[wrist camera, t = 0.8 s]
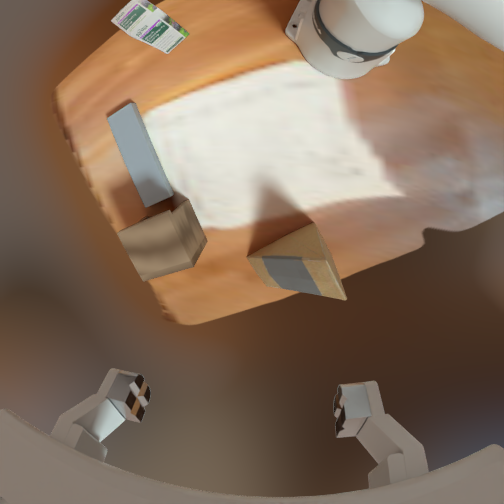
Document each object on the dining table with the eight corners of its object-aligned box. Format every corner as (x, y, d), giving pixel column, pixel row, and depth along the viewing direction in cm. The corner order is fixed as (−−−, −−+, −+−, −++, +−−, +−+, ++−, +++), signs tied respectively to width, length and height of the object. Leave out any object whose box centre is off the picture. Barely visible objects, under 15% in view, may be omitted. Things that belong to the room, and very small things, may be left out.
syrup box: (167, 55, 37) (129, 36, 24) (149, 39, 35) (108, 20, 23) (190, 34, 35) (159, 7, 22) (171, 19, 33) (136, -8, 20)
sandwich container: (244, 256, 54) (234, 301, 41) (313, 220, 50) (326, 258, 36) (266, 287, 57) (262, 336, 44) (332, 255, 53) (347, 301, 39)
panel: (113, 117, 43) (107, 118, 41) (136, 103, 42) (130, 102, 40) (150, 204, 51) (145, 207, 49) (174, 193, 50) (170, 196, 48)
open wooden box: (141, 213, 52) (116, 233, 43) (186, 194, 49) (166, 212, 40) (162, 255, 56) (143, 281, 47) (207, 241, 53) (193, 267, 44)
